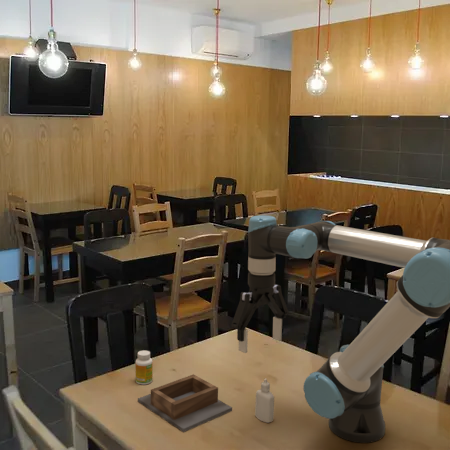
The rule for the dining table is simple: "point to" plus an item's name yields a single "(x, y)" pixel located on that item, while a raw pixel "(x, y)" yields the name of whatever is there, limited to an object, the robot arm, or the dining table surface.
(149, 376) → the supplement bottle
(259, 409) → the eye dropper bottle
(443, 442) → the dining table surface
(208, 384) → the bottle holder
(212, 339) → the dining table surface
